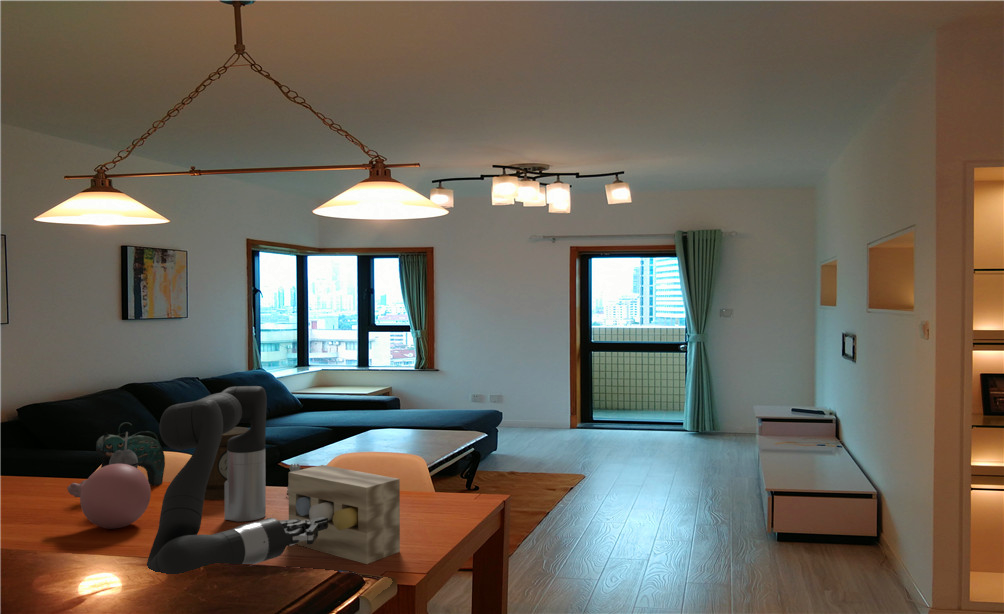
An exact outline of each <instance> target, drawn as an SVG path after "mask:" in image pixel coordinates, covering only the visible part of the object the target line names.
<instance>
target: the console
mask: <svg viewBox="0 0 1004 614" xmlns="http://www.w3.org/2000/svg"><path fill="white" fill-rule="evenodd" d="M400 482H401V481H400V478H398V477H397V478H396V477H391V476H387V475H385V476H384V475H381V474H380V475H379V474H374V473H369V472H364V471H359V470H358V471H357V470H353V469H347V468H342V467H337V466H330V465H324V464H320V465H317V466H311V467H307V468H303V469H302V468H301V469H299V470H297V471H293V472H291V471H289V472H288V485H289V493H288V520H292V519H301V521H303V520H310V517H309V514H308V515H305V516H301V515H299V514H298V512H297V510H296V501H297V500H298V499H299V498H302V497H306V496H308V497H311V507H312V506H314V505H317V504H321V503H325V502H328V501H331V502H334V513H335V512H336V511H339V510H342V509H346V508H349V507H353V506H354V507H358V525H356V526H353V527H350V528H346V529H343V530H338V529H337V528H336V527H335V526H334V524H333V520H329V521H328V528H327V529H324V530H321V531H318V537H317V538H316V540H315V541H314V543H313V544H307V542H306V540H303V541H300V542H298V543H296V544H298V545H297V546H299V545H301V546H300V547H303V546H304V547H303V548H306V547H307V549H310V548H311V549H310V550H314V551H318V552H321V553H325V554H327V555H332V556H335V557H339V558H342V559H346V560H350V561H355V562H357V563H362V564H364V565H369V564H372V563H373V562H376V561H379V560H382V559H384V558H387V557H389V556H392V555H394V554H399V553H400V552H401V539H400V538H401V531H400V529H401V527H400V526H401V522H400V521H401V520H400V519H401V518H400V516H401V515H400V514H401V508H400V507H401V504H400V502H401V501H400V500H401V499H400V498H401V497H400V496H401V495H400V494H401V493H400V489H401V485H400V484H401V483H400Z"/></svg>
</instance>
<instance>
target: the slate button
mask: <svg viewBox="0 0 1004 614" xmlns="http://www.w3.org/2000/svg"><path fill="white" fill-rule="evenodd" d="M310 508H311V497H308V496H306V497H302V498H299V499H298V500H297V501H296V510H297V512H298V514H299V515H301V516H305V515H308V514H309V510H310Z"/></svg>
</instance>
